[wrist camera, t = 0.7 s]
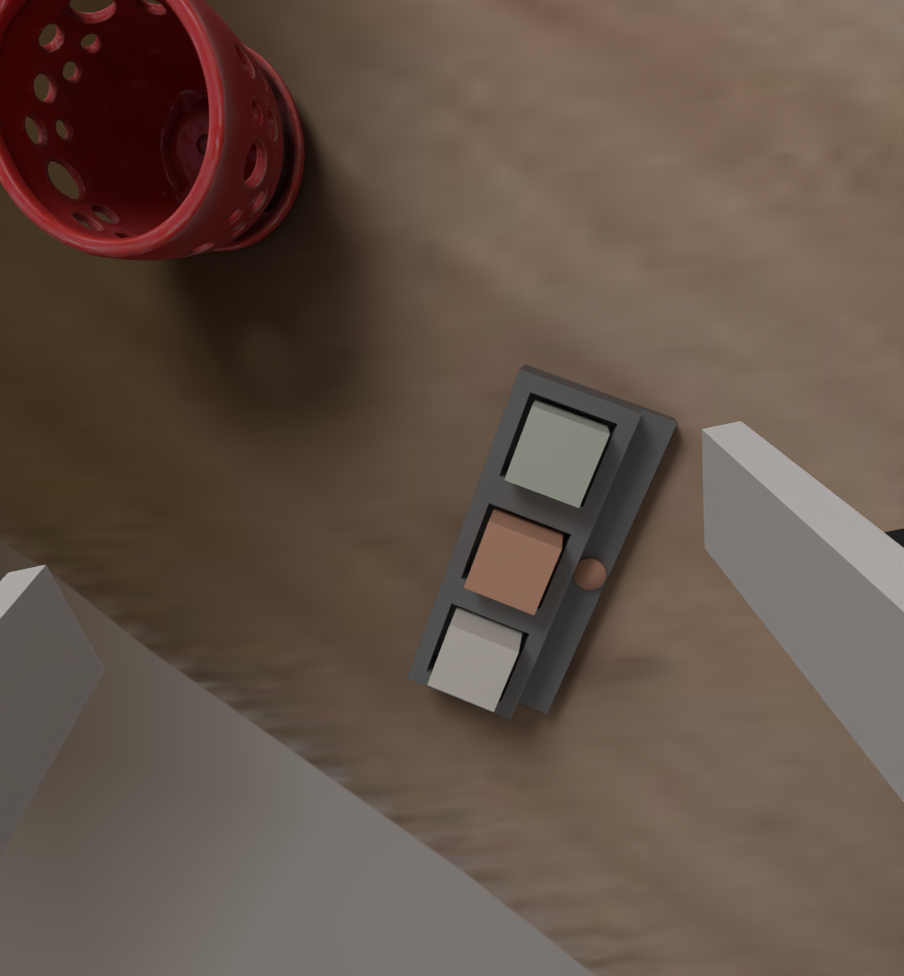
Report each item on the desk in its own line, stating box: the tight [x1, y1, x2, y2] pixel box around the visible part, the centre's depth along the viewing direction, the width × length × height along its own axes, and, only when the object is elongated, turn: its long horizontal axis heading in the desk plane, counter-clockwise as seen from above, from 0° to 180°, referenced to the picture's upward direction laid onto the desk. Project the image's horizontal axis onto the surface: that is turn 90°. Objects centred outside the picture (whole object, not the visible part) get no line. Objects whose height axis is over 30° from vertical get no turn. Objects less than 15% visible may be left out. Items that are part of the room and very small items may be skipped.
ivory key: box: [427, 606, 522, 712], centre depth 42 cm, size 4×4×3 cm
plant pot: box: [0, 0, 305, 260], centre depth 36 cm, size 13×13×12 cm
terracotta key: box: [464, 507, 563, 615], centre depth 40 cm, size 4×4×3 cm
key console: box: [408, 365, 678, 720], centre depth 42 cm, size 10×21×4 cm, turn 161°
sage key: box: [504, 399, 610, 508], centre depth 38 cm, size 4×4×3 cm
